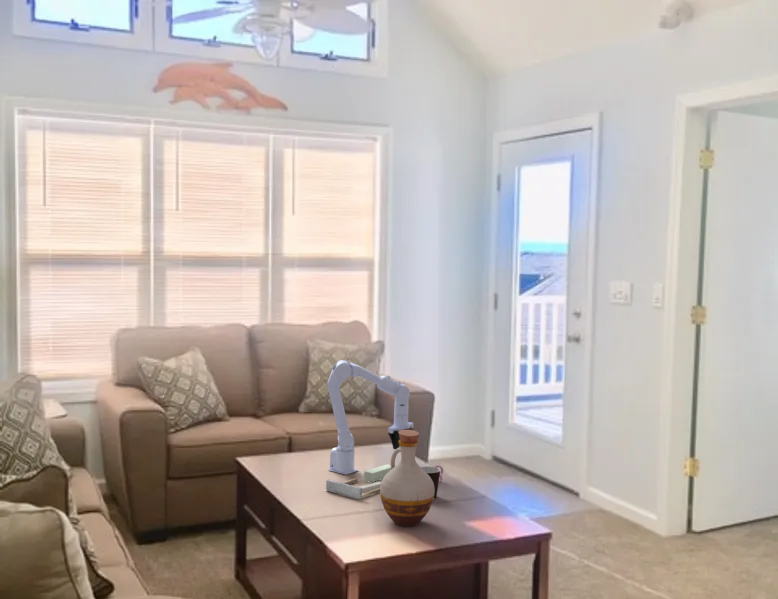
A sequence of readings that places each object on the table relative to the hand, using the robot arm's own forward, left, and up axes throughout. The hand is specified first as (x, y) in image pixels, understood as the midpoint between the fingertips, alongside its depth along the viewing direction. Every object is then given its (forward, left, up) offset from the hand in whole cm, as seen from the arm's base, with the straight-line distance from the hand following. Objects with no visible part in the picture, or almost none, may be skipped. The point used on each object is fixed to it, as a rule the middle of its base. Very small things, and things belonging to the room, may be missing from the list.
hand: (400, 447), depth 324 cm
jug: (+37, -47, -10) cm, 61 cm away
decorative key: (+16, -9, -10) cm, 21 cm away
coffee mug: (+26, -20, -10) cm, 34 cm away
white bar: (+7, -30, -10) cm, 32 cm away
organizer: (+4, -31, -9) cm, 32 cm away
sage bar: (0, -13, -10) cm, 16 cm away
